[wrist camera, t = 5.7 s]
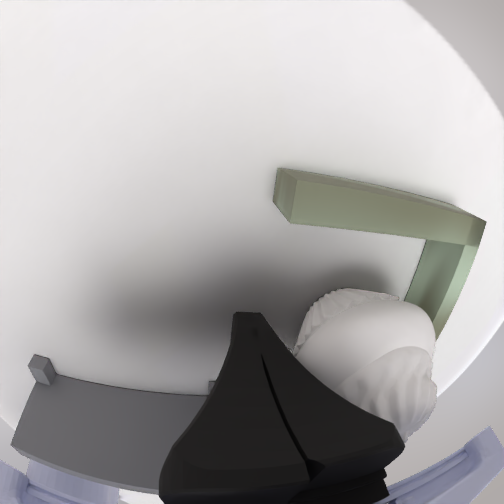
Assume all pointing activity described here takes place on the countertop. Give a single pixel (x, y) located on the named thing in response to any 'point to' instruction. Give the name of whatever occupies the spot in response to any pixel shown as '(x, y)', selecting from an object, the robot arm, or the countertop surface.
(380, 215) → the bay
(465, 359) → the countertop surface
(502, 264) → the countertop surface
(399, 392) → the muffin
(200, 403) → the screen
